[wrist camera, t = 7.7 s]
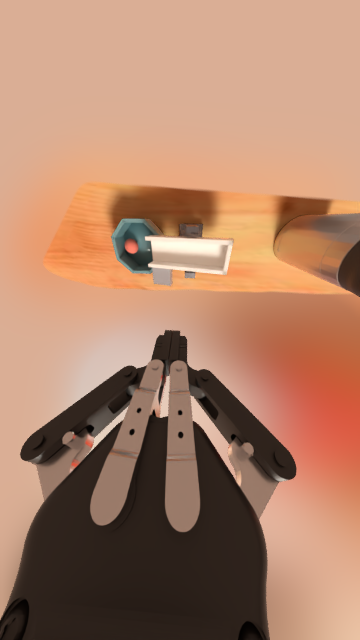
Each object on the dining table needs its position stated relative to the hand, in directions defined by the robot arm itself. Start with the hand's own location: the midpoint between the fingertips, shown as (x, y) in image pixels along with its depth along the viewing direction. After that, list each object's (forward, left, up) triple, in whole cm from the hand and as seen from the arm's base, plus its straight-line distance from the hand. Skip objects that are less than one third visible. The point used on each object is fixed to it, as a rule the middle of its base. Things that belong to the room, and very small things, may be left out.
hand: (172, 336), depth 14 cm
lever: (-2, -3, -22) cm, 22 cm away
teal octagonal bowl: (+9, -5, -27) cm, 29 cm away
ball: (+11, -5, -25) cm, 27 cm away
